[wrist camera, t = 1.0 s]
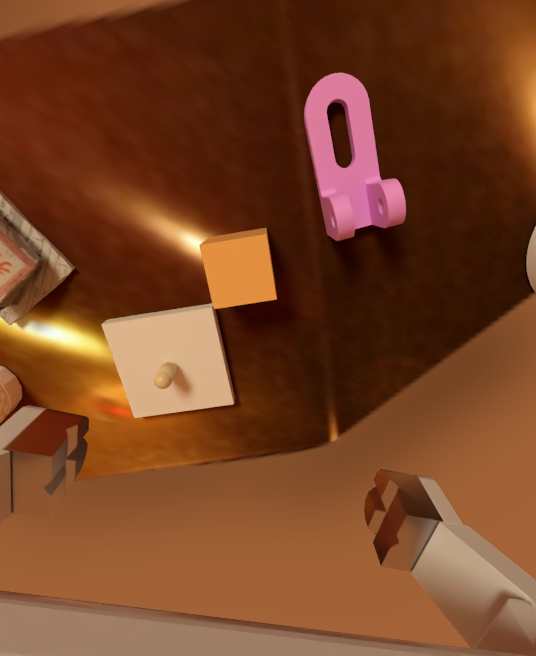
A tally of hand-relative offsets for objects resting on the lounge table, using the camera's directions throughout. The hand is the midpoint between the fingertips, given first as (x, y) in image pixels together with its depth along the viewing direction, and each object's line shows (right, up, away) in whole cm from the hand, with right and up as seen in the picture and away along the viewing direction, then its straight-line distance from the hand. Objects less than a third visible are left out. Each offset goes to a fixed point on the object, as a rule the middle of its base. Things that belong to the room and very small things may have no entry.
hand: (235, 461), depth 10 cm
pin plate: (-10, 0, +30) cm, 32 cm away
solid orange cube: (-2, +11, +26) cm, 29 cm away
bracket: (+8, +20, +23) cm, 32 cm away
